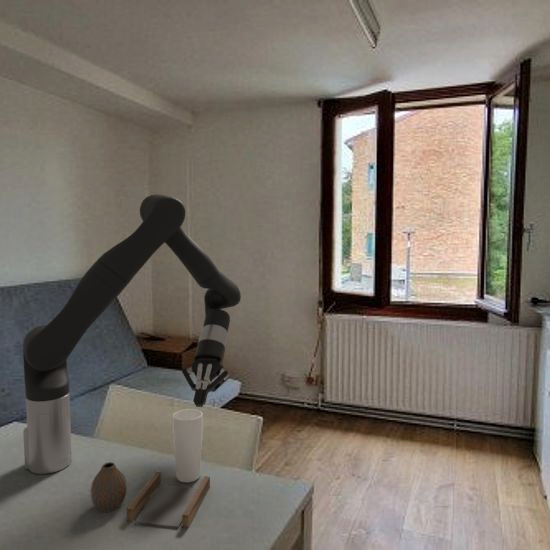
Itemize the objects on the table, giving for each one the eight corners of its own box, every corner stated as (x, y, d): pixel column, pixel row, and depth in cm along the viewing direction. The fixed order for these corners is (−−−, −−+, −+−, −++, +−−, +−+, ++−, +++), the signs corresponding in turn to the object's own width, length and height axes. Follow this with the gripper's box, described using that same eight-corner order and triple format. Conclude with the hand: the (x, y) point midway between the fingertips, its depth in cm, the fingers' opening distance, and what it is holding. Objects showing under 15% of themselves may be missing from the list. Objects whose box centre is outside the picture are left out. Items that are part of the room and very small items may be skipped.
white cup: (206, 470, 109) (206, 409, 107) (198, 486, 102) (198, 421, 101) (178, 469, 110) (177, 407, 108) (168, 484, 103) (168, 419, 101)
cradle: (125, 522, 90) (125, 510, 89) (156, 482, 104) (156, 471, 104) (187, 529, 88) (187, 517, 87) (209, 487, 102) (209, 476, 102)
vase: (99, 495, 98) (98, 456, 97) (131, 496, 98) (131, 457, 97) (85, 515, 91) (84, 473, 91) (120, 517, 91) (119, 474, 90)
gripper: (185, 337, 125) (169, 398, 114) (233, 338, 123) (221, 401, 112) (191, 351, 130) (177, 410, 120) (237, 353, 128) (227, 413, 118)
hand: (198, 405), depth 116 cm, fingers closed
